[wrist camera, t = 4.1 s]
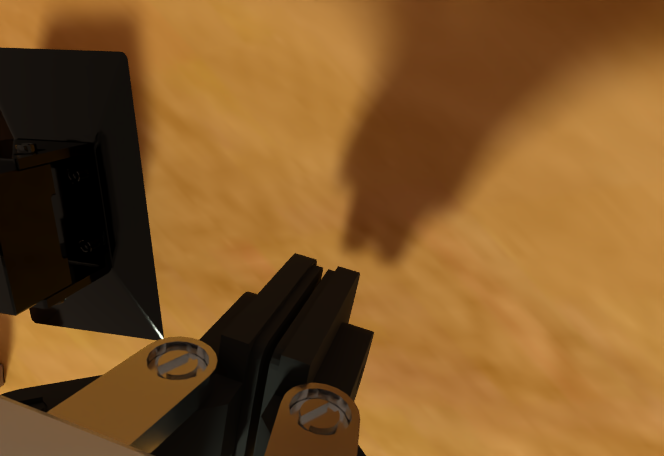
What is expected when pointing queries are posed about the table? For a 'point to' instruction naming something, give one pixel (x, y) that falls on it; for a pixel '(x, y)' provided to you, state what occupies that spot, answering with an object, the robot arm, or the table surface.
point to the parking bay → (1, 375)
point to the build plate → (74, 195)
